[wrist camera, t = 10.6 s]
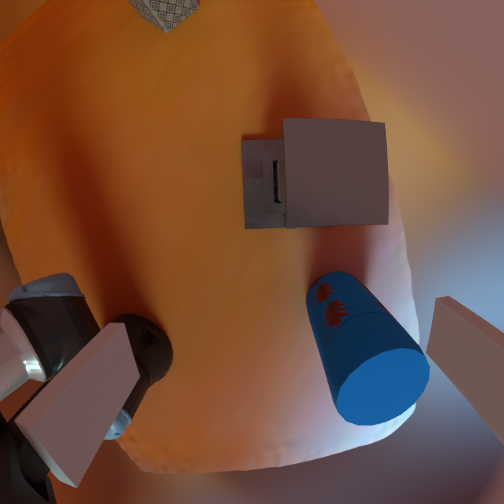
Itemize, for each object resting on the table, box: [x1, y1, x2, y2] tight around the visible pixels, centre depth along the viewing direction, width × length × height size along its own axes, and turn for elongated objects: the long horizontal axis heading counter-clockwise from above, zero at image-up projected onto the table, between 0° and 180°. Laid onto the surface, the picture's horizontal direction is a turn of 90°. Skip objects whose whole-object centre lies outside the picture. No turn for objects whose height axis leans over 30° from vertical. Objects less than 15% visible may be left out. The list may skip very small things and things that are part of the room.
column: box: [277, 118, 389, 226], centre depth 24 cm, size 5×5×23 cm
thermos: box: [306, 272, 430, 425], centre depth 36 cm, size 11×11×25 cm
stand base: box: [241, 139, 333, 229], centre depth 38 cm, size 14×14×13 cm
